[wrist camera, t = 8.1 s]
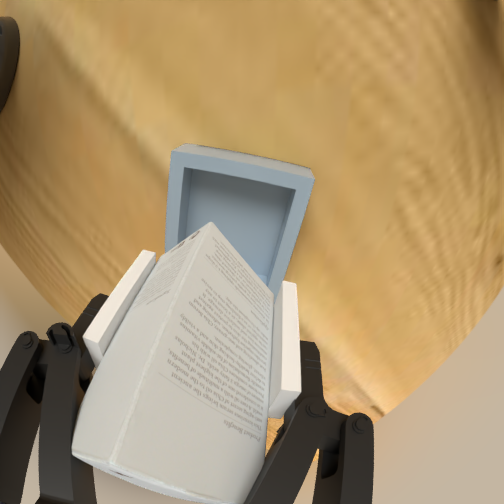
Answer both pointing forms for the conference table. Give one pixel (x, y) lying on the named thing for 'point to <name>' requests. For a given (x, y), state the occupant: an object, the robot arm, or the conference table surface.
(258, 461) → the skincare box
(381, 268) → the conference table surface
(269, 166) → the blue-grey square tray
